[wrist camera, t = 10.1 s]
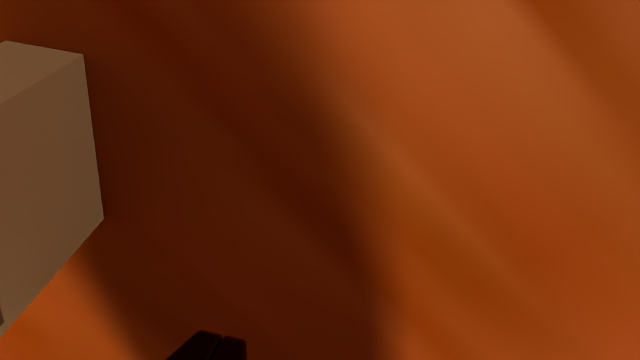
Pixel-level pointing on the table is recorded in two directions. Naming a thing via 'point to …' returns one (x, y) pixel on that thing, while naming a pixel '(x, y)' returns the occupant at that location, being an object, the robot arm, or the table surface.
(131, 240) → the table surface
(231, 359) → the robot arm
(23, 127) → the sage domino
